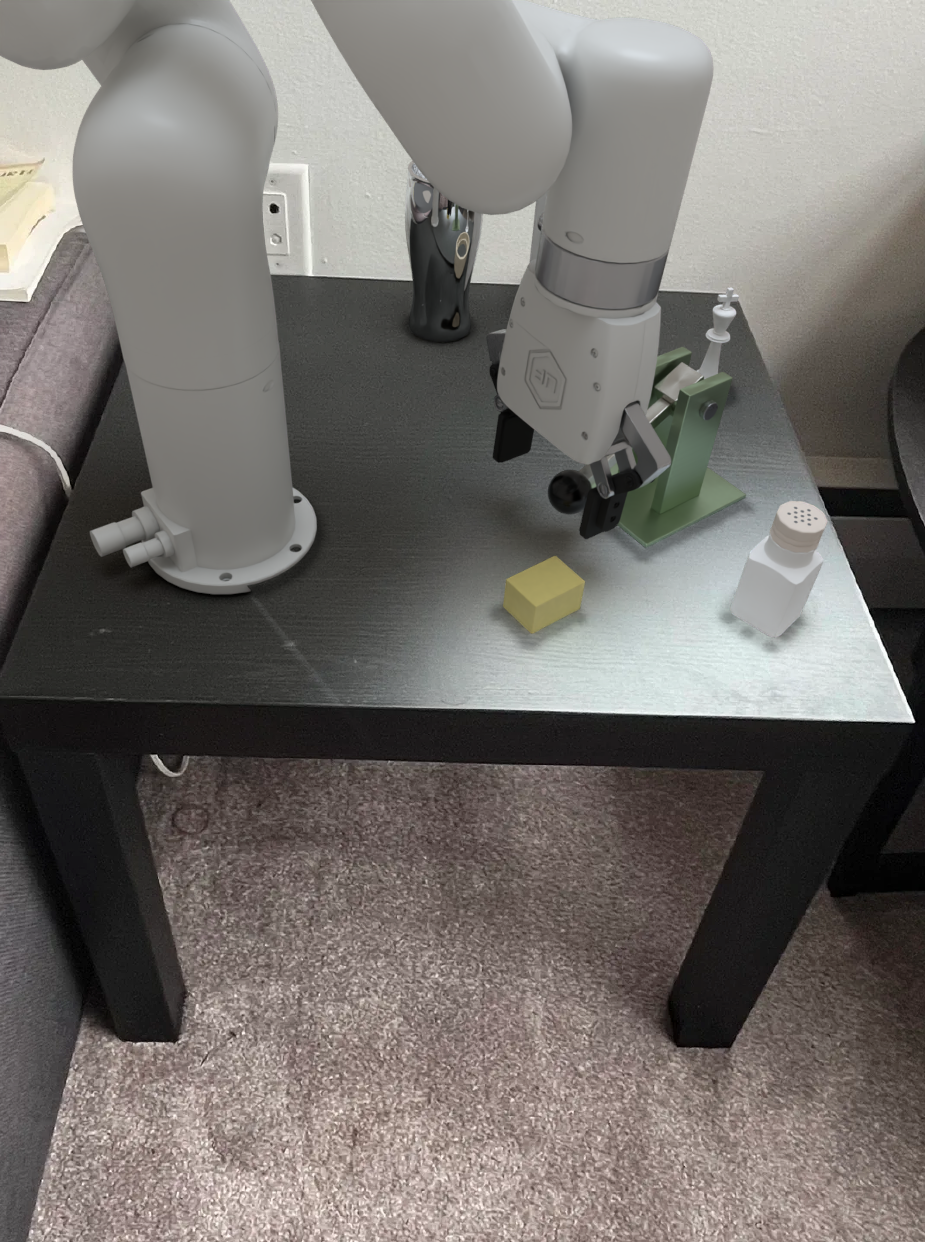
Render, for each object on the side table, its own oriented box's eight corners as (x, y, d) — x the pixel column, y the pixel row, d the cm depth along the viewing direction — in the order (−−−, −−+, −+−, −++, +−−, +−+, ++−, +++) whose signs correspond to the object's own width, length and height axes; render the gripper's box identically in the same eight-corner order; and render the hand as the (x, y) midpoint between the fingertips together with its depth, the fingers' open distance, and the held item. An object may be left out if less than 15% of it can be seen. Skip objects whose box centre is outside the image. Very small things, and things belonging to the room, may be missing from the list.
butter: (530, 643, 67) (535, 606, 64) (501, 615, 68) (505, 578, 66) (578, 617, 69) (585, 581, 66) (549, 590, 70) (555, 554, 68)
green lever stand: (643, 556, 73) (676, 425, 65) (565, 493, 78) (586, 362, 70) (743, 506, 78) (785, 377, 70) (663, 449, 83) (694, 322, 75)
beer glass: (401, 308, 97) (402, 152, 87) (471, 308, 98) (480, 153, 87) (406, 345, 93) (408, 184, 82) (479, 344, 93) (490, 185, 83)
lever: (573, 530, 71) (562, 507, 68) (545, 506, 72) (533, 482, 70) (713, 403, 72) (708, 375, 69) (682, 383, 73) (676, 354, 71)
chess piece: (738, 405, 88) (768, 302, 81) (686, 407, 88) (712, 304, 80) (719, 375, 92) (747, 274, 85) (669, 377, 91) (693, 275, 84)
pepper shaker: (771, 649, 67) (814, 545, 61) (722, 619, 69) (759, 515, 62) (800, 620, 70) (845, 516, 63) (752, 591, 71) (790, 488, 65)
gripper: (462, 217, 61) (440, 444, 73) (656, 349, 52) (593, 582, 64) (554, 196, 64) (518, 416, 76) (750, 317, 55) (674, 544, 67)
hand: (553, 492), depth 70 cm, fingers open, 9 cm apart
